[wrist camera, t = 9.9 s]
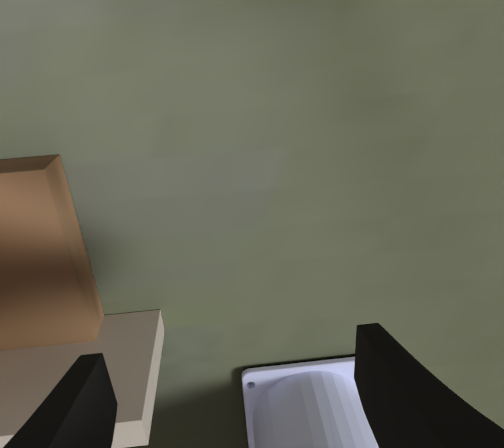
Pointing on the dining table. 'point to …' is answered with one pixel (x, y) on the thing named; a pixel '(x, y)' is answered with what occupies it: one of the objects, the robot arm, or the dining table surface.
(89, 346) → the shelf board
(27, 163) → the brown rectangular panel
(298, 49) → the dining table surface
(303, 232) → the dining table surface
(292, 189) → the dining table surface
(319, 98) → the dining table surface
